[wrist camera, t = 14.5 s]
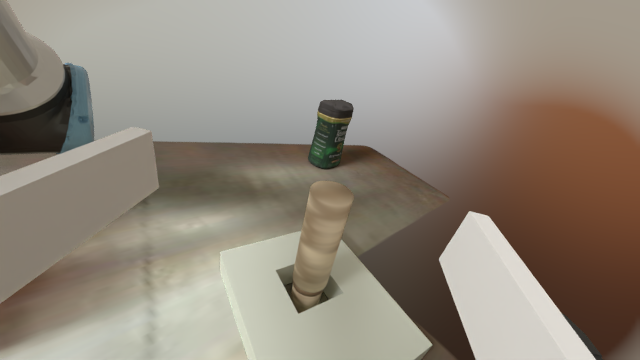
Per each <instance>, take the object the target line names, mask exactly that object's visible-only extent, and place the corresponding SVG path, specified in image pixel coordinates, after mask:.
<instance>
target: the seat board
mask: <svg viewBox="0 0 640 360" xmlns="http://www.w3.org/2000/svg"><path fill="white" fill-rule="evenodd" d="M300 236H301V231H298V232H294V233H290V234H287V235H283V236H279V237H275V238H271V239H267V240H263V241H259V242H255V243H252V244H248V245H244V246H240V247H236V248H232V249H228V250H224V251H221V252H220V273H221V276H222V279H223V283H224V286H225V289H226V292H227V295H228V298H229V301H230V305H231V308H232V311H233V314H234V317H235V320H236V324H237V327H238V330H239V333H240V336H241V339H242V343H243V346H244V349H245V352H246V355H247V358H248V360H421V359H422V358H423V357H424V355H425V354H426V353H427V351H428V350H429V349H430V347H431V346H432V344H431V342H430V341H429V340H428V339H427V338H426V337H425V335H424V334H423V333H422V332H421V331H420V330H419V328H418V327H417V326H416V325H415V324H414V323H413V322H412V320H411V319H410V318H409V317H408V316H407V315H406V313H405V312H404V311H403V310H402V309H401V308H400V306H399V305H398V304H397V303H396V302H395V301H394V300H393V298H392V297H391V296H390V295H389V294H388V293H387V292H386V290H385V289H384V288H383V287H382V286H381V285H380V283H379V282H378V281H377V280H376V279H375V277H374V276H373V275H372V274H371V273H370V272H369V271H368V269H367V268H366V267H365V266H364V265H363V264H362V262H361V261H360V260H359V259H358V258H357V257H356V255H355V254H354V253H353V252H352V251H351V250H350V248H349V247H348V246H347V245H346V244H345V243H344V242H343V240H342V239H341V241H340V244H339V247H338V251H337V254H336V257H335V260H334V263H333V267H332V270H331V273H330V276H329V279H328V283H327V285H326V287H325V288H324V290H323V291H324V293H325V295H326V296H327V298H328V299H329V300H328V301H325V302H323V303H321V304H319V305H317V306H314V307H312V308H310V309H308V310H306V311H304V312H301V313H299V314H298V312H297V310H296V308H295V306H294V305H293V303H292V301H291V299H290V297H289V295H288V293H287V291H286V289H285V287H284V285H286V284H289V283H292V282H293V270H294V265H295V260H296V255H297V250H298V245H299V240H300Z"/></svg>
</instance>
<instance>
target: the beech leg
mask: <svg viewBox="0 0 640 360" xmlns="http://www.w3.org/2000/svg"><path fill="white" fill-rule="evenodd" d="M353 199H354V195H353V193H352V192H351V190H349V189H348V188H347V187H345V186H344V185H342V184H339V183H336V182H332V181H318V182H315V183H314V184H312V185H311V187H310V192H309V197H308V202H307V206H306V211H305V216H304V221H303V226H302V231H301V236H300V240H299V245H298V250H297V255H296V260H295V265H294V270H293V286H292V290H291V295H290V299H291V301H292V303H293V305H294V306H295V308H296V310H297V312H298V314H299V313H301V312H304V311H306V310H308V309H310V308H312V307H314V306H317V305H318V304H319V301H320V297H321V294H322V292H323V290H324V288H325V287H326V285H327V283H328V279H329V276H330V273H331V270H332V267H333V263H334V260H335V257H336V254H337V251H338V247H339V244H340V241H341V238H342V235H343V231H344V228H345V225H346V222H347V219H348V215H349V212H350V209H351V206H352V203H353Z"/></svg>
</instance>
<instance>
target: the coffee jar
mask: <svg viewBox="0 0 640 360" xmlns="http://www.w3.org/2000/svg"><path fill="white" fill-rule="evenodd" d="M352 113H353V106H352V104H351V103H348V102H346V101H343V100H323V101H321V102H320V106H319V108H318V114H317V115H318V120H317V126H316V130H315V135H314V138H313V142H312V145H311V149H310V152H309V156H308V160H309V161H310V162H311V163H312V164H313V165H314V166H316V167H320V168H323V169H326V168H331V167H334V166H337V165H338V164H339V163H340V159H341V155H342V149H343V144H344V139H345V135H346V131H347V128H348V125H349V123H350V120H351V118H352Z"/></svg>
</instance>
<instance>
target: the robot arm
mask: <svg viewBox="0 0 640 360" xmlns="http://www.w3.org/2000/svg"><path fill="white" fill-rule="evenodd" d="M40 153H56V154H58V155H56V156H53V157H50V158H48V159H45V160H42V161H40V162H37V163H34V164H32V165H29V166H26V167H24V168H21V169H18V170H15V171H13V172H10V173H7V174H5V175H2V176H0V303H1V302H3V301H4V300H6V299H7V298H8V297H10V296H11V295H12V294H14V293H15V292H17V291H18V290H19V289H21V288H22V287H23V286H25V285H26V284H28V283H29V282H30V281H32V280H33V279H34V278H36V277H37V276H39V275H40V274H41V273H43V272H44V271H45V270H47V269H48V268H50V267H51V266H52V265H54V264H55V263H56V262H58V261H59V260H61V259H62V258H63V257H65V256H66V255H67V254H69V253H70V252H72V251H73V250H74V249H76V248H77V247H78V246H80V245H81V244H83V243H84V242H85V241H87V240H88V239H89V238H91V237H92V236H94V235H95V234H96V233H98V232H99V231H100V230H102V229H103V228H105V227H106V226H107V225H109V224H110V223H111V222H113V221H114V220H116V219H117V218H118V217H120V216H121V215H122V214H124V213H125V212H127V211H128V210H129V209H131V208H132V207H133V206H135V205H136V204H138V203H139V202H140V201H142V200H143V199H145V198H146V197H147V196H149V195H150V194H151V193H153V192H154V191H156V190H157V189H158V188H159V182H158V175H157V168H156V161H155V154H154V146H153V139H152V133H151V131H148V130H144V129H140V128H136V127H131V128H128V129H126V130H123V131H120V132H118V133H115V134H112V135H110V136H107V137H104V138H101V139H99V140H96V141H94V124H93V111H92V100H91V92H90V84H89V78H88V74H87V72H86V70H85V69H84V68H83V67H80V66H76V65H73V64H70V63H65V64H62V62H61V60H60V58H59V57H58V55H57V54H56V53H55V51H53V50H52V49H51V48H50V47H49V46H48V45H47V44H46V43H44V42H43V41H41V40H40V39H38V38H37V37H35V36H33V35H30V34H29V33H27V32H25V30H24V29H23V27H22V25H21V24H20V22H19V20H18V19H17V17H16V15H15V14H14V12H13V10H12V8H11V7H10V5H9V3H8V2H7V0H0V155H12V154H40ZM439 261H440V264H441V267H442V269H443V272H444V275H445V277H446V280H447V283H448V285H449V288H450V291H451V293H452V296H453V299H454V301H455V304H456V307H457V310H458V313H459V315H460V318H461V321H462V323H463V326H464V329H465V331H466V334H467V337H468V340H469V342H470V345H471V348H472V350H473V353H474V356H475V359H476V360H603V359H602V355H601V354H600V353H599V352H598V350H597V349H596V348H595V346H594V345H593V344H592V342H591V341H590V340H589V338H588V337H587V336H586V335H585V334H584V333H583V332H582V331H581V330H580V329H579V328H578V327H577V326H576V325H575V324H574V323H573V322H572V321H571V320H570V319H569V318H567V317H566V316H565V315H564V314H562V313H561V312H560V311H559V310H558V308H557V307H556V306H555V304H554V303H553V302H552V300H551V299H550V298H549V296H548V295H547V294H546V292H545V291H544V290H543V288H542V287H541V286H540V284H539V283H538V282H537V280H536V279H535V278H534V276H533V275H532V274H531V272H530V271H529V270H528V268H527V267H526V265H525V264H524V263H523V261H522V260H521V259H520V257H519V256H518V255H517V254H516V252H515V251H514V250H513V248H512V247H511V246H510V244H509V243H508V241H507V240H506V239H505V238H504V236H503V235H502V234H501V232H500V231H499V229H498V228H497V227H496V226H495V224H494V223H493V222H492V220H491V219H490V217H489V216H486V215H482V214H478V213H474V212H470V211H469V213H468V214H467V216H466V217H465V219H464V221H463V222H462V224H461V225H460V227H459V228H458V230H457V231H456V233H455V235H454V236H453V238H452V239H451V241H450V242H449V244H448V245H447V247H446V249H445V250H444V252H443V253H442V255H441V256H440V258H439Z"/></svg>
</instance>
